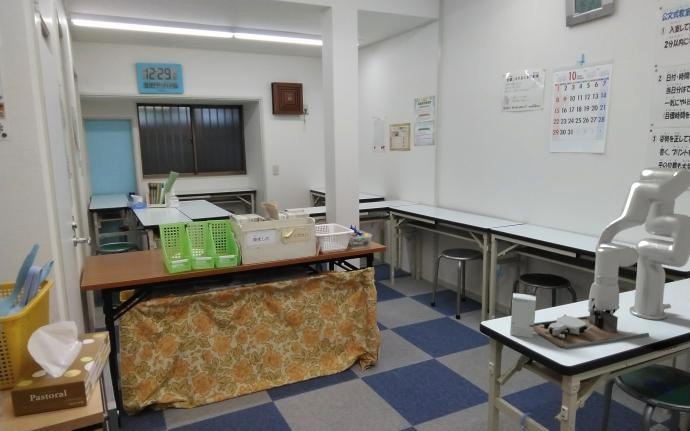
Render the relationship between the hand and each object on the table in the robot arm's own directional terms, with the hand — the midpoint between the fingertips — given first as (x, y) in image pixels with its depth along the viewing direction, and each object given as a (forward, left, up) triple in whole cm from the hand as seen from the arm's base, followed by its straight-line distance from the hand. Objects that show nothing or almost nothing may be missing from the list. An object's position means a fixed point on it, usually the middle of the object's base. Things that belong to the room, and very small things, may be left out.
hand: (602, 326), depth 168 cm
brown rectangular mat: (+12, 0, -1) cm, 12 cm away
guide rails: (+7, 0, -1) cm, 7 cm away
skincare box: (+31, -5, -1) cm, 32 cm away
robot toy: (+17, 0, -1) cm, 17 cm away
